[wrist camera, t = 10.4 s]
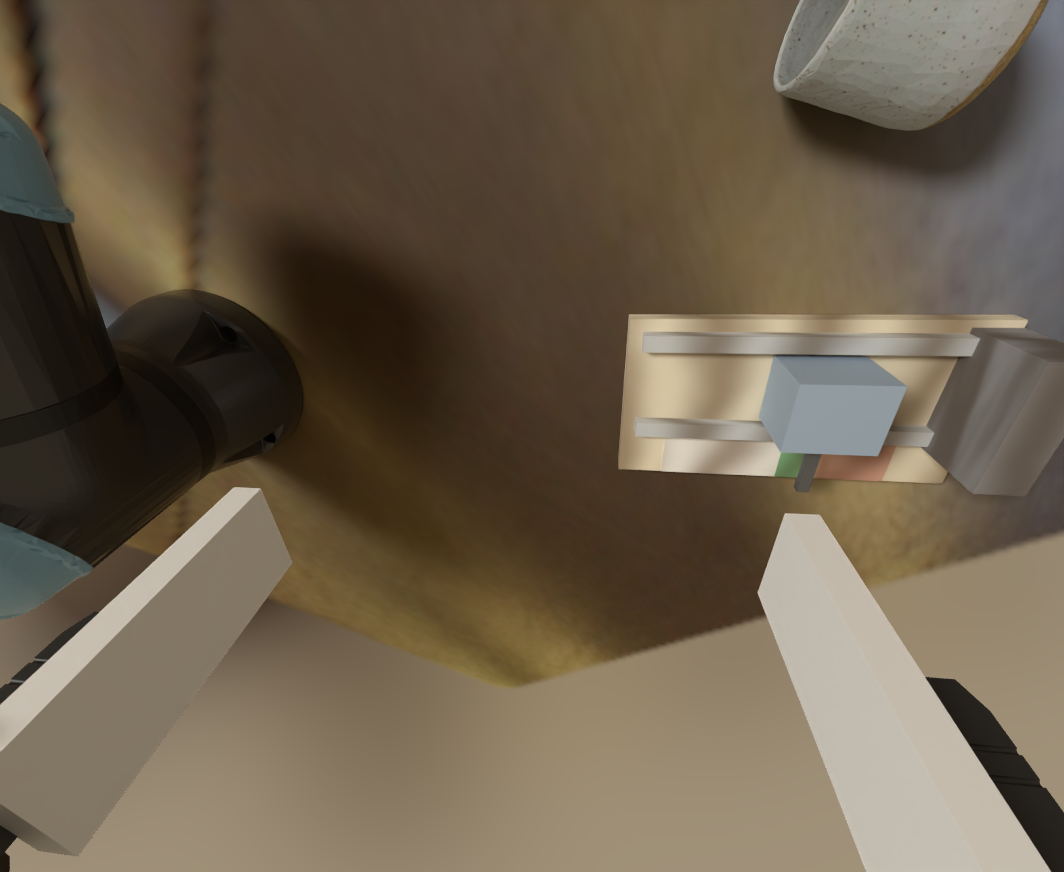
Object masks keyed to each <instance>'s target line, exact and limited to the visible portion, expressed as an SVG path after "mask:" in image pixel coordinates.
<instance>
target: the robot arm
mask: <svg viewBox="0 0 1064 872" xmlns="http://www.w3.org/2000/svg"><path fill="white" fill-rule="evenodd" d="M74 221H75V218H74V214H73V212H72V211H71V210H70V209H69V208H68V207H66V206H65V204H64V202H63V199H62V197H61V194H60V192H59V189H58V187H57V185H56V182H55V180H54V177H53V175H52V172H51V170H50V167H49V165H48V162H47V160H46V157H45V155H44V152H43V150H42V147H41V145H40V143H39V141H38V139H37V137H36V136H35V134H34V133H33V131H32V130H31V129H30V128H29V127H28V125H27V124H26V123H25V122H24V121H23V120H22V119H21V118H20V117H19V116H17V115H16V114H15V113H14V112H12V111H11V110H10V109H8V108H7V107H5V106H4V105H2V104H1V103H0V620H3V619H8V618H12V617H16V616H19V615H22V614H24V613H26V612H28V611H31V610H33V609H35V608H36V607H38V606H39V605H41V604H42V603H43V602H45V601H46V600H47V599H49V598H51V597H52V596H53V595H55V594H56V593H57V592H59V591H60V590H61V589H63V588H64V587H66V586H67V585H69V584H70V583H71V582H73V581H74V580H76V579H77V578H78V577H83V576H86V575H87V574H88V573H89V572H90V571H92V569H93V568H94V567H96V566H97V565H98V564H99V563H100V562H101V561H103V560H104V559H105V558H106V557H108V556H109V555H110V554H111V553H112V552H114V551H115V550H116V549H117V548H119V547H120V546H121V545H122V544H123V543H125V542H126V541H127V540H128V539H130V538H131V537H132V536H133V535H134V534H136V533H137V532H138V531H139V530H140V529H142V528H143V527H144V526H145V525H147V524H148V523H149V522H150V521H151V520H153V519H154V518H155V517H156V516H157V515H159V514H160V513H161V512H162V511H163V510H165V509H166V508H167V507H168V506H170V505H171V504H172V503H173V502H174V501H176V500H177V499H178V498H179V497H180V496H182V495H183V494H184V493H185V492H187V491H188V490H189V489H190V488H191V487H193V486H194V485H195V484H196V483H197V482H199V481H200V480H201V479H202V478H204V477H205V476H206V475H208V474H209V473H211V472H214V471H217V470H220V469H223V468H225V467H228V466H231V465H234V464H237V463H240V462H242V461H245V460H248V459H251V458H254V457H257V456H259V455H262V454H264V453H266V452H268V451H270V450H271V449H273V448H274V447H276V446H277V445H278V444H279V443H280V442H281V441H283V440H284V439H285V438H286V437H287V436H288V435H289V434H290V433H291V432H292V431H293V430H294V429H295V427H296V426H297V424H298V422H299V420H300V417H301V413H302V407H303V394H302V388H301V383H300V380H299V376H298V374H297V371H296V369H295V366H294V364H293V362H292V360H291V358H290V357H289V355H288V353H287V352H286V350H285V349H284V347H283V346H282V345H281V343H280V342H279V341H278V339H277V338H276V337H275V336H274V335H273V334H272V332H271V331H270V330H269V329H268V328H267V327H266V326H265V325H264V324H262V323H261V322H260V321H259V320H258V319H257V318H255V317H254V316H253V315H252V314H250V313H249V312H247V311H246V310H245V309H243V308H241V307H240V306H238V305H236V304H235V303H233V302H231V301H229V300H227V299H225V298H222V297H220V296H217V295H214V294H211V293H207V292H203V291H198V290H187V289H184V290H174V291H169V292H166V293H162V294H159V295H156V296H153V297H149V298H147V299H144V300H142V301H140V302H138V303H136V304H134V305H133V306H131V307H130V308H129V309H128V310H127V311H126V312H124V313H123V314H122V315H121V316H120V317H119V318H118V319H117V320H116V321H114V322H113V323H112V324H111V325H110V326H109V327H108V328H107V329H106V327H105V324H104V321H103V318H102V315H101V312H100V309H99V306H98V303H97V300H96V297H95V294H94V291H93V288H92V285H91V282H90V279H89V276H88V273H87V270H86V267H85V264H84V261H83V258H82V255H81V252H80V249H79V246H78V243H77V240H76V237H75V234H74V231H73V228H72V225H71V223H74ZM291 564H292V561H291V558H290V556H289V554H288V551H287V549H286V546H285V544H284V542H283V539H282V537H281V535H280V532H279V530H278V528H277V525H276V523H275V521H274V518H273V516H272V514H271V511H270V509H269V506H268V504H267V502H266V499H265V497H264V495H263V492H262V490H261V489H259V488H238V487H234V488H233V489H232V490H231V491H229V492H228V493H227V494H226V495H225V496H224V497H223V498H222V499H221V500H220V501H219V502H218V503H217V504H215V505H214V506H213V507H212V508H211V509H210V510H209V511H208V512H207V513H206V514H205V515H204V516H203V517H202V518H200V519H199V520H198V521H197V522H196V523H195V524H194V525H193V526H192V527H191V528H190V529H189V530H188V531H186V532H185V533H184V534H183V535H182V536H181V537H180V538H179V539H178V540H177V541H176V542H175V543H174V544H173V545H171V546H170V547H169V548H168V549H167V550H166V551H165V552H164V553H163V554H162V555H161V556H160V557H159V558H157V559H156V560H155V561H154V562H153V563H152V564H151V565H150V566H149V567H148V568H147V569H146V570H145V571H143V572H142V574H140V575H139V576H138V577H137V578H136V579H135V580H134V581H133V582H132V583H131V584H130V585H128V586H127V587H126V588H125V589H124V590H123V591H122V592H121V593H120V594H119V595H118V596H117V597H116V598H114V599H113V600H112V601H111V602H110V603H109V604H108V605H107V606H106V607H105V608H104V609H103V610H102V611H101V612H94V613H92V614H90V615H89V616H87V617H86V618H84V619H83V620H81V621H80V622H78V623H76V624H75V625H73V626H72V627H70V628H69V629H67V630H66V631H64V632H63V633H61V634H60V635H59V636H58V637H57V638H56V639H55V640H54V641H52V642H51V644H49V645H48V646H47V647H46V648H45V649H44V650H42V652H40V653H39V654H38V655H37V656H36V657H35V660H34V662H32V663H28V664H27V665H26V666H25V667H24V668H23V669H22V670H20V671H19V672H18V673H17V674H16V675H15V676H14V677H13V678H12V681H11V682H10V683H9V684H5V685H4V686H3V687H2V688H0V872H9V870H10V857H9V856H8V855H7V854H6V853H5V851H6V850H7V849H8V847H9V846H10V845H11V844H12V843H13V841H14V840H15V839H16V838H17V837H18V838H19V839H21V840H22V841H24V842H25V843H27V844H29V845H30V846H32V847H33V848H35V849H36V850H38V851H43V852H51V853H57V854H64V855H72V856H79V854H80V853H81V852H82V850H83V849H84V848H85V846H86V845H87V843H88V842H89V841H90V839H91V838H92V837H93V835H94V834H95V832H96V831H97V830H98V828H99V827H100V825H101V824H102V823H103V821H104V820H105V819H106V817H107V816H108V815H109V813H110V812H111V810H112V809H113V808H114V806H115V805H116V804H117V802H118V801H119V800H120V798H121V797H122V795H123V794H124V793H125V791H126V790H127V788H128V787H129V786H130V785H131V783H132V782H133V780H134V779H135V778H136V776H137V775H138V774H139V772H140V771H141V769H142V768H143V767H144V765H145V764H146V763H147V761H148V760H149V758H150V757H151V756H152V754H153V753H154V752H155V750H156V749H157V748H158V746H159V745H160V743H161V742H162V740H163V739H164V738H165V737H166V735H167V734H168V732H169V731H170V730H171V728H172V727H173V725H174V724H175V723H176V722H177V720H178V719H179V717H180V716H181V715H182V713H183V712H184V711H185V709H186V708H187V706H188V705H189V704H190V702H191V701H192V699H193V698H194V697H195V695H196V694H197V693H198V691H199V690H200V689H201V687H202V686H203V684H204V683H205V682H206V680H207V679H208V678H209V676H210V675H211V674H212V672H213V671H214V669H215V668H216V667H217V665H218V664H219V663H220V661H221V660H222V659H223V657H224V656H225V654H226V653H227V652H228V650H229V649H230V647H231V646H232V645H233V643H234V642H235V641H236V639H237V638H238V637H239V635H240V634H241V632H242V631H243V630H244V628H245V627H246V626H247V624H248V623H249V622H250V620H251V619H252V617H253V616H254V615H255V613H256V612H257V611H258V609H259V608H260V606H261V605H262V604H263V602H264V601H265V600H266V598H267V597H268V596H269V594H270V593H271V591H272V590H273V589H274V587H275V586H276V585H277V583H278V582H279V580H280V579H281V578H282V576H283V575H284V574H285V572H286V571H287V569H288V568H289V567H290V565H291ZM758 595H759V598H760V600H761V603H762V605H763V608H764V611H765V613H766V616H767V618H768V621H769V623H770V626H771V629H772V631H773V634H774V636H775V639H776V641H777V644H778V646H779V649H780V651H781V654H782V657H783V659H784V662H785V664H786V667H787V670H788V672H789V675H790V677H791V680H792V682H793V685H794V687H795V690H796V693H797V695H798V698H799V700H800V703H801V705H802V708H803V711H804V713H805V716H806V718H807V721H808V723H809V726H810V728H811V731H812V733H813V736H814V739H815V741H816V744H817V747H818V749H819V752H820V754H821V757H822V759H823V762H824V764H825V767H826V770H827V772H828V775H829V777H830V780H831V782H832V785H833V787H834V790H835V793H836V795H837V798H838V800H839V803H840V806H841V808H842V810H843V813H844V816H845V818H846V821H847V823H848V826H849V829H850V831H851V834H852V836H853V839H854V842H855V844H856V846H857V849H858V852H859V854H860V857H861V860H862V862H863V865H864V867H865V870H866V872H1064V812H1063V811H1062V809H1061V808H1060V807H1059V806H1058V804H1057V803H1056V801H1055V800H1054V799H1053V797H1052V796H1051V794H1050V793H1049V792H1048V790H1047V789H1046V788H1043V787H1042V786H1041V785H1040V782H1039V781H1040V779H1039V778H1038V776H1037V775H1036V774H1035V772H1034V771H1033V770H1032V768H1031V767H1030V765H1029V764H1028V763H1027V761H1026V760H1025V759H1024V757H1023V756H1022V755H1019V754H1018V753H1017V750H1016V749H1017V748H1016V746H1015V745H1014V743H1013V742H1012V741H1011V739H1010V738H1009V736H1008V735H1007V734H1006V732H1005V731H1004V730H1003V728H1002V727H1001V725H1000V724H999V723H998V721H997V720H996V719H995V717H994V716H993V714H992V713H991V712H990V711H989V710H988V709H987V708H986V707H985V706H984V705H983V704H982V703H980V702H979V701H978V700H977V699H976V698H975V697H974V696H973V695H972V694H970V693H969V692H968V691H967V690H966V689H965V688H964V687H963V686H961V685H960V684H959V683H958V682H957V681H956V680H954V679H941V678H929V677H924V675H923V673H922V672H921V671H920V669H919V667H918V666H917V664H916V663H915V661H914V659H913V658H912V656H911V655H910V653H909V652H908V650H907V649H906V647H905V646H904V644H903V643H902V641H901V639H900V638H899V636H898V635H897V633H896V632H895V630H894V629H893V627H892V626H891V624H890V622H889V621H888V619H887V618H886V616H885V615H884V613H883V612H882V610H881V609H880V607H879V606H878V604H877V603H876V601H875V599H874V598H873V596H872V595H871V593H870V592H869V590H868V589H867V587H866V585H865V584H864V582H863V581H862V579H861V578H860V576H859V575H858V573H857V572H856V570H855V568H854V567H853V565H852V564H851V562H850V561H849V559H848V558H847V556H846V555H845V553H844V552H843V550H842V548H841V547H840V545H839V544H838V542H837V541H836V539H835V538H834V536H833V535H832V533H831V531H830V530H829V528H828V527H827V525H826V524H825V522H824V521H823V519H822V518H821V516H820V515H810V514H789V513H785V515H784V518H783V521H782V524H781V526H780V529H779V532H778V535H777V538H776V541H775V544H774V547H773V550H772V553H771V555H770V558H769V561H768V564H767V567H766V570H765V573H764V576H763V579H762V582H761V585H760V587H759V590H758Z"/></svg>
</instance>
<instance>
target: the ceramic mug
mask: <svg viewBox="0 0 1064 872" xmlns="http://www.w3.org/2000/svg"><path fill="white" fill-rule="evenodd" d="M1047 3H1048V0H800V2H799V4H798V6H797V8H796V10H795V13H794V15H793V18H792V20H791V22H790V25H789V27H788V30H787V32H786V34H785V36H784V40H783V43H782V45H781V48H780V51H779V54H778V59H777V62H776V66H775V72H774V78H773V81H774V88H775V89H776V91H777V92H778V94H781V95H783V96H786V97H789V98H792V99H796V100H800V101H803V102H806V103H809V104H812V105H815V106H818V107H821V108H824V109H827V110H830V111H833V112H836V113H840V114H844V115H848V116H851V117H854V118H857V119H860V120H863V121H866V122H869V123H872V124H875V125H878V126H881V127H885V128H888V129H899V130H905V131H912V130H922V129H925V128H928V127H932V126H934V125H936V124H938V123H940V122H942V121H944V120H946V119H948V118H950V117H951V116H953V115H954V114H955V113H957V112H958V111H960V110H961V109H962V108H964V107H965V106H966V105H967V104H969V103H970V102H971V101H972V100H974V99H975V98H976V97H977V96H978V95H979V94H980V93H981V92H982V91H983V90H984V89H985V88H986V87H987V86H988V85H990V84H991V83H992V82H993V80H994V79H995V78H996V77H997V76H998V75H999V74H1000V73H1001V72H1002V71H1003V70H1004V69H1005V67H1006V66H1007V65H1008V64H1009V62H1010V61H1011V60H1012V59H1013V57H1014V56H1015V55H1016V54H1017V52H1018V51H1019V50H1020V48H1021V47H1022V45H1023V44H1024V43H1025V41H1026V40H1027V39H1028V37H1029V35H1030V34H1031V32H1032V30H1033V29H1034V27H1035V25H1036V24H1037V22H1038V20H1039V19H1040V17H1041V15H1042V13H1043V11H1044V9H1045V7H1046V5H1047Z"/></svg>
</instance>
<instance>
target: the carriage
mask: <svg viewBox="0 0 1064 872" xmlns="http://www.w3.org/2000/svg"><path fill="white" fill-rule="evenodd" d="M907 387H908V386H906V385H905V384H904V383H902V382H901V381H899V380H898V379H897V378H895V377H894V376H893V375H891V374H890V373H889V372H887V371H886V370H885V369H883V368H882V367H881V366H879V365H878V364H877V363H875V362H874V361H872V360H871V359H870V358H868V357H867V356H826V355H774V358H773V362H772V366H771V370H770V374H769V378H768V382H767V386H766V390H765V394H764V398H763V402H762V406H761V410H760V414H759V418H760V420H761V421H762V423H763V425H764V426H765V428H766V430H767V431H768V433H769V435H770V436H771V438H772V439H773V441H774V443H775V444H776V446H777V448H778V449H779V451H780V452H781V453H805V454H804V457H803V460H802V463H801V466H800V469H799V473H798V476H797V479H796V482H795V485H794V488H795V489H796V491H797V492H809V489H810V486H811V483H812V480H813V477H814V475H815V472H816V469H817V466H818V463H819V460H820V457H821V454H832V455H858V456H878V455H879V453H880V450H881V448H882V445H883V443H884V441H885V438H886V436H887V434H888V431H889V429H890V427H891V424H892V422H893V420H894V417H895V415H896V413H897V410H898V408H899V405H900V403H901V401H902V398H903V396H904V394H905V391H906V389H907Z"/></svg>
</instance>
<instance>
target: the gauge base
mask: <svg viewBox="0 0 1064 872" xmlns="http://www.w3.org/2000/svg"><path fill="white" fill-rule="evenodd" d="M1027 322H1028V320H1027V319H1024V318H1021V317H1019V316H1016V315H768V314H629V321H628V335H627V349H626V362H625V376H624V390H623V403H622V417H621V431H620V444H619V458H618V465H619V469H632V470H654V471H667V472H689V473H711V474H733V475H755V476H777V477H797V476H798V473H799V469H800V466H801V463H802V460H803V457H804V454H805V453H781V452H780V451H779V449H778V448H777V446H776V444H775V443H774V441H773V439H772V438H771V436H770V435H769V433H768V431H767V430H766V428H765V426H764V425H763V423H762V421H761V420H760V418H759V414H760V410H761V406H762V402H763V398H764V394H765V390H766V386H767V382H768V378H769V374H770V370H771V366H772V362H773V358H774V355H826V356H867V357H868V358H870V359H871V360H872V361H874V362H875V363H877V364H878V365H879V366H881V367H882V368H883V369H885V370H886V371H887V372H889V373H890V374H891V375H893V376H894V377H895V378H897V379H898V380H899V381H901V382H902V383H904V384H905V385H906V386H908V387H907V389H906V391H905V394H904V396H903V398H902V401H901V403H900V405H899V408H898V410H897V413H896V415H895V417H894V420H893V422H892V424H891V427H890V429H889V431H888V434H887V436H886V438H885V441H884V443H883V445H882V448H881V450H880V453H879V455H878V456H858V455H832V454H821V457H820V460H819V463H818V466H817V469H816V472H815V475H814V477H813V478H821V479H843V480H865V481H896V482H918V483H940V484H942V482H943V480H944V478H945V476H946V475H947V473H948V472H949V473H950V474H951V475H952V476H953V477H954V478H955V479H956V480H958V481H959V482H960V483H961V484H962V485H963V486H964V487H965V488H966V489H968V490H969V491H970V492H971V493H972V494H988V495H1009V496H1026V494H1027V493H1028V491H1029V490H1030V488H1031V487H1032V485H1033V484H1034V482H1035V481H1036V479H1037V478H1038V476H1039V475H1040V473H1041V472H1042V470H1043V469H1044V467H1045V466H1046V464H1047V462H1048V461H1049V459H1050V458H1051V456H1052V455H1053V453H1054V452H1055V450H1056V449H1057V447H1058V446H1059V444H1060V443H1061V441H1062V440H1063V438H1064V343H1062V342H1059V341H1057V340H1054V339H1051V338H1049V337H1046V336H1044V335H1041V334H1039V333H1036V332H1034V331H1031V330H1029V329H1026V328H1025V326H1026V324H1027Z"/></svg>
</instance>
